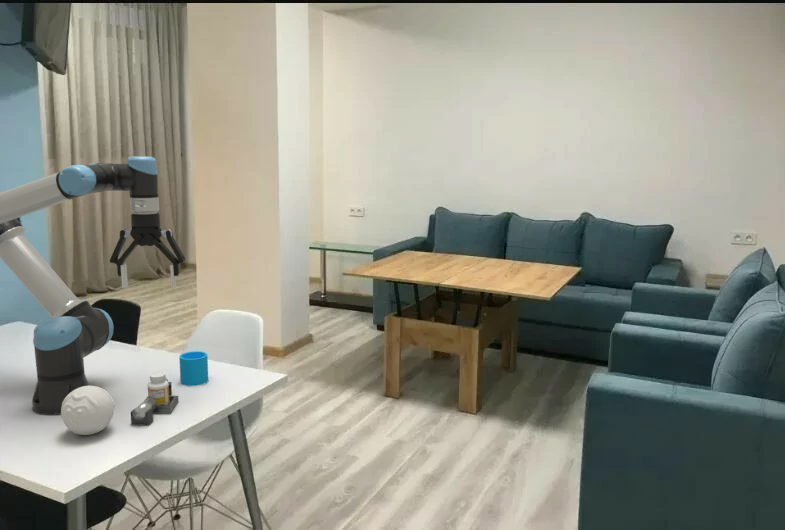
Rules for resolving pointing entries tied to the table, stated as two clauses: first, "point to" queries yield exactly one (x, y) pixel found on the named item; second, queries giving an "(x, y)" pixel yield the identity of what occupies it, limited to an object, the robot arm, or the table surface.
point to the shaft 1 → (143, 413)
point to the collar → (166, 409)
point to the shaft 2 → (169, 387)
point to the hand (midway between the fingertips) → (149, 287)
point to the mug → (193, 368)
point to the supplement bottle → (159, 389)
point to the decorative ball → (87, 410)
